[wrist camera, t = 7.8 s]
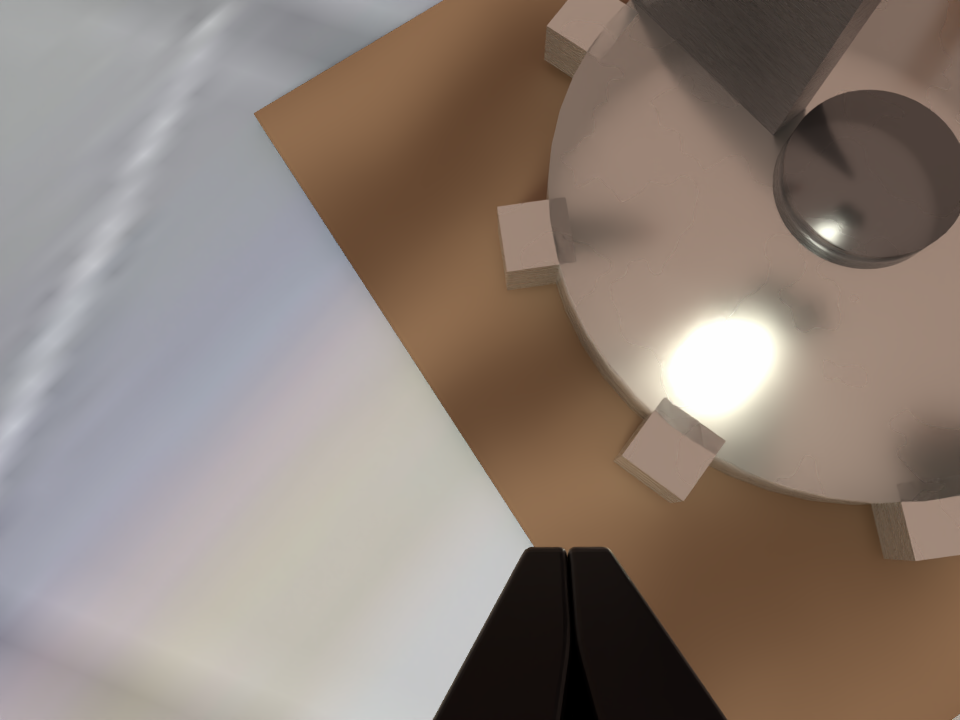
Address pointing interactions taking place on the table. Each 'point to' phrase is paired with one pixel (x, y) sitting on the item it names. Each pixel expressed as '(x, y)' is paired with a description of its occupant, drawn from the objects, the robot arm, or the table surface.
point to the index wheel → (765, 244)
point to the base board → (592, 383)
